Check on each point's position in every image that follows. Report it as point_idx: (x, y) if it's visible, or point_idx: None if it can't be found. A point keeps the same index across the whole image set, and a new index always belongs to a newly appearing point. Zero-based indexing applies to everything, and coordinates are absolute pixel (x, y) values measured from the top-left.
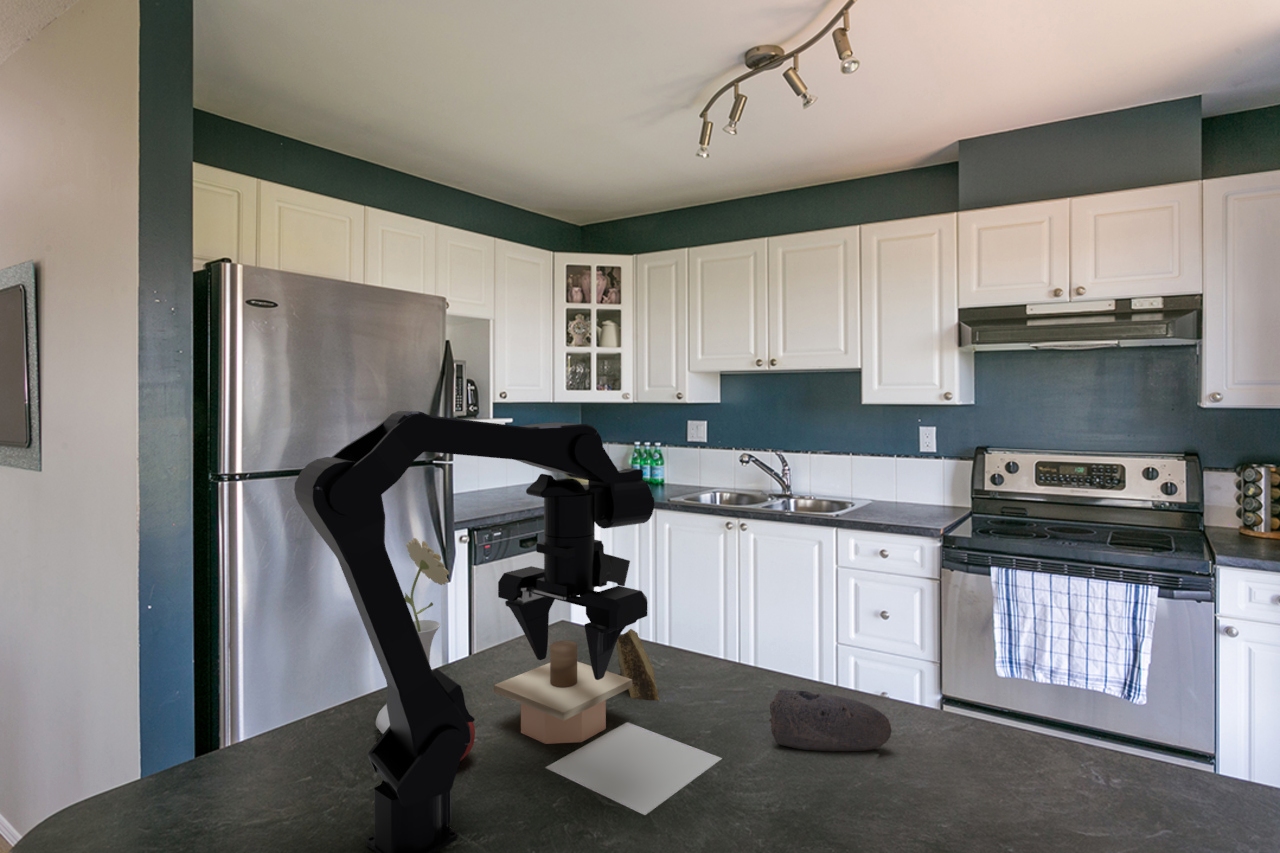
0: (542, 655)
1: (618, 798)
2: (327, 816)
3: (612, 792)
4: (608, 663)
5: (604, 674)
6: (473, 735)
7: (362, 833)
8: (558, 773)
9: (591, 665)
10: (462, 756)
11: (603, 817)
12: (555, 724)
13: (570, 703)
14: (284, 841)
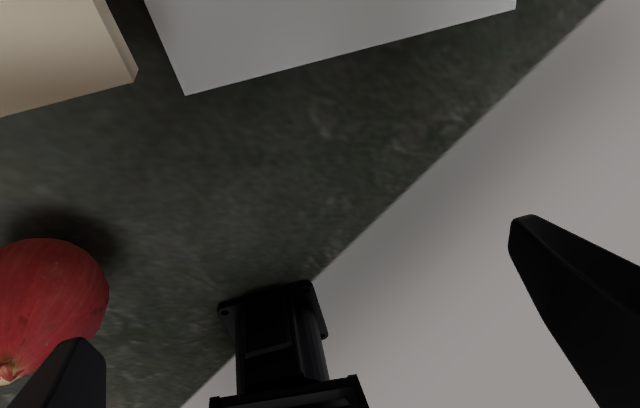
0: (93, 372)
1: (424, 19)
2: (147, 378)
3: (396, 16)
4: (612, 254)
5: (545, 221)
6: (65, 268)
7: (215, 353)
8: (233, 82)
9: (554, 336)
10: (96, 262)
11: (431, 75)
12: None
13: (47, 10)
14: (182, 403)
